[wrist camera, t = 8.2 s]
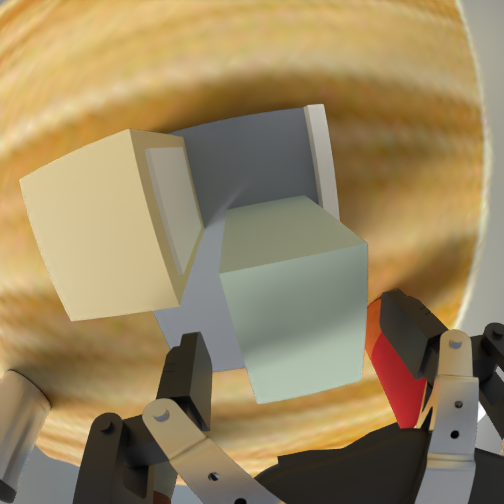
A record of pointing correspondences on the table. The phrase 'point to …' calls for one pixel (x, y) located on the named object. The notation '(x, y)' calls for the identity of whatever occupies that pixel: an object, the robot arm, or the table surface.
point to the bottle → (164, 483)
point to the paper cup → (395, 373)
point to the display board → (242, 194)
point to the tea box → (295, 296)
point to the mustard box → (117, 224)
